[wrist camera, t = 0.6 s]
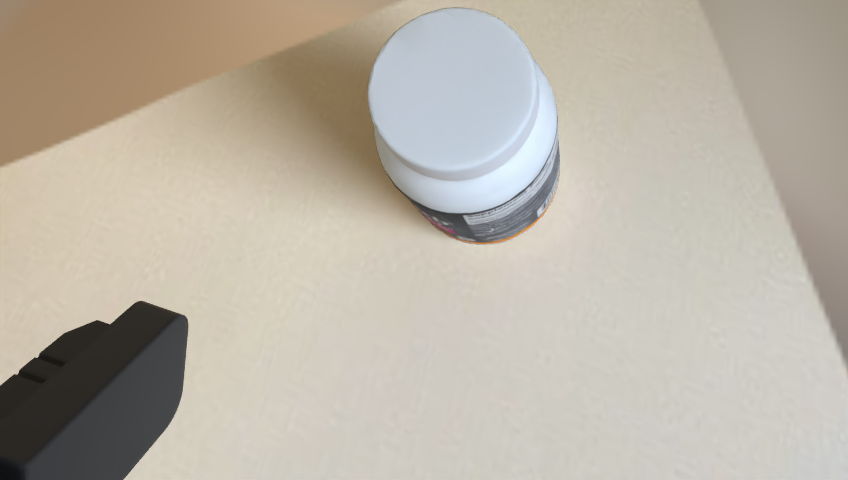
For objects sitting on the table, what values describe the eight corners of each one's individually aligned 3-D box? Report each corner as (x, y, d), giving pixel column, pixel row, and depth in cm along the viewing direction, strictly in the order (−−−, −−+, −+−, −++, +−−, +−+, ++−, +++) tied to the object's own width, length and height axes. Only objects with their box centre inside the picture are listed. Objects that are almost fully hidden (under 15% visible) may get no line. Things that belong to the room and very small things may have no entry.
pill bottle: (389, 162, 32) (308, 68, 22) (506, 78, 32) (475, -53, 22) (468, 277, 30) (418, 231, 21) (592, 191, 30) (599, 103, 20)
